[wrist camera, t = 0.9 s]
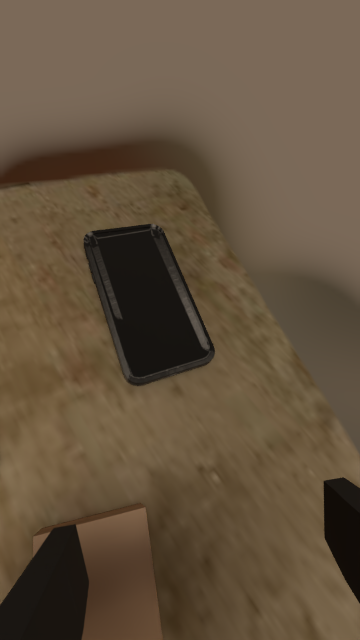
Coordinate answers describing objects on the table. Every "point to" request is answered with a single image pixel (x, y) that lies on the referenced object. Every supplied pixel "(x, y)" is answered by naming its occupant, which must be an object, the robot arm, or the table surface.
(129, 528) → the walnut tile
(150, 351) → the phone
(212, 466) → the table surface
